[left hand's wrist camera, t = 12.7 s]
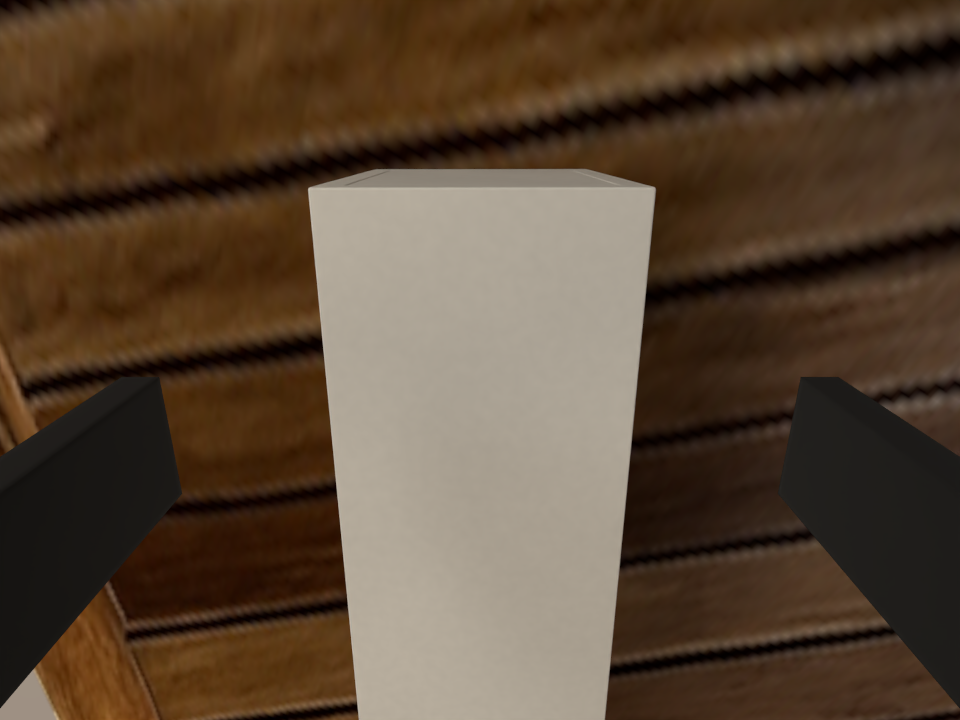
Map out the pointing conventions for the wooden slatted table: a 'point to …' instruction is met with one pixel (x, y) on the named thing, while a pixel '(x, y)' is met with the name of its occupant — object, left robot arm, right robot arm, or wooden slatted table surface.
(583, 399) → the cabinet
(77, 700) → the wooden slatted table surface
